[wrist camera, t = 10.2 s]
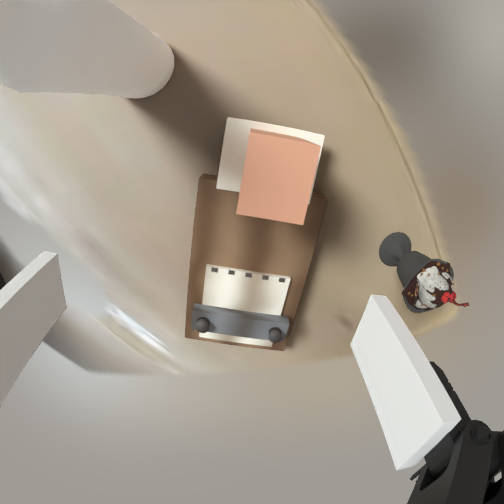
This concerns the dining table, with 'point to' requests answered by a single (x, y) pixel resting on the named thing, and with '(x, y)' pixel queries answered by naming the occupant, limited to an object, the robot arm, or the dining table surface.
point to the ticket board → (246, 270)
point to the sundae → (419, 274)
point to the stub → (269, 169)
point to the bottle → (80, 49)
